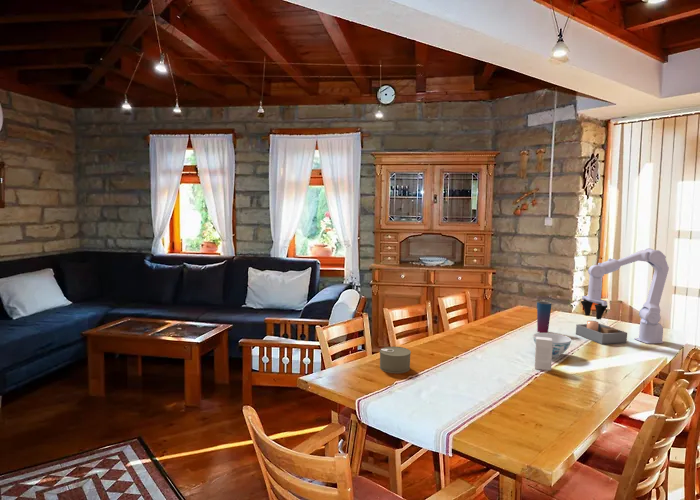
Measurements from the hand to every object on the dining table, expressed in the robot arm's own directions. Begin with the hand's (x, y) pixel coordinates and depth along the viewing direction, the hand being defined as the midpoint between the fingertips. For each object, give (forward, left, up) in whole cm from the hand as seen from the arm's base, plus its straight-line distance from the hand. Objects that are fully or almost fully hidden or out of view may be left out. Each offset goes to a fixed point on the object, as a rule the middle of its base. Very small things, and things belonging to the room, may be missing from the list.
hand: (593, 317), depth 232 cm
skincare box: (+52, +35, -10) cm, 64 cm away
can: (+110, +24, -10) cm, 113 cm away
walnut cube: (-4, +6, -9) cm, 12 cm away
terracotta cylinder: (0, 0, -9) cm, 9 cm away
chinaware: (+38, +21, -10) cm, 45 cm away
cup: (+18, -13, -10) cm, 24 cm away
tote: (-2, +3, -10) cm, 11 cm away
